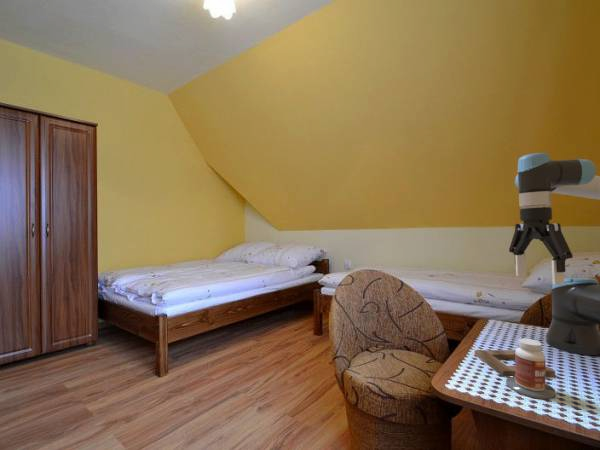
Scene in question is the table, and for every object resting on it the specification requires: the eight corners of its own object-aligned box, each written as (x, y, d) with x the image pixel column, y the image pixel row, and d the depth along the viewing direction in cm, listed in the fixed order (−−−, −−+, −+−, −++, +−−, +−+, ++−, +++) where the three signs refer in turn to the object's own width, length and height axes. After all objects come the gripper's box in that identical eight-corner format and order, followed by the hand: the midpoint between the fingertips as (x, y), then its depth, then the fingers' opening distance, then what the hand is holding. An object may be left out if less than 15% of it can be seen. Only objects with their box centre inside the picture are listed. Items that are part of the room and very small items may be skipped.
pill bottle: (539, 395, 74) (539, 348, 74) (510, 384, 79) (510, 340, 79) (549, 387, 78) (549, 342, 78) (520, 377, 83) (521, 335, 83)
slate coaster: (535, 378, 83) (535, 376, 83) (566, 399, 73) (566, 397, 73) (497, 378, 83) (497, 376, 83) (523, 399, 73) (523, 396, 73)
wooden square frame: (519, 355, 98) (519, 350, 98) (555, 376, 84) (555, 371, 84) (474, 354, 98) (474, 350, 98) (502, 376, 84) (502, 371, 84)
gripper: (588, 203, 79) (592, 287, 79) (516, 208, 104) (519, 272, 104) (559, 205, 79) (563, 288, 79) (494, 209, 104) (497, 273, 104)
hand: (538, 279), depth 91 cm, fingers open, 13 cm apart
